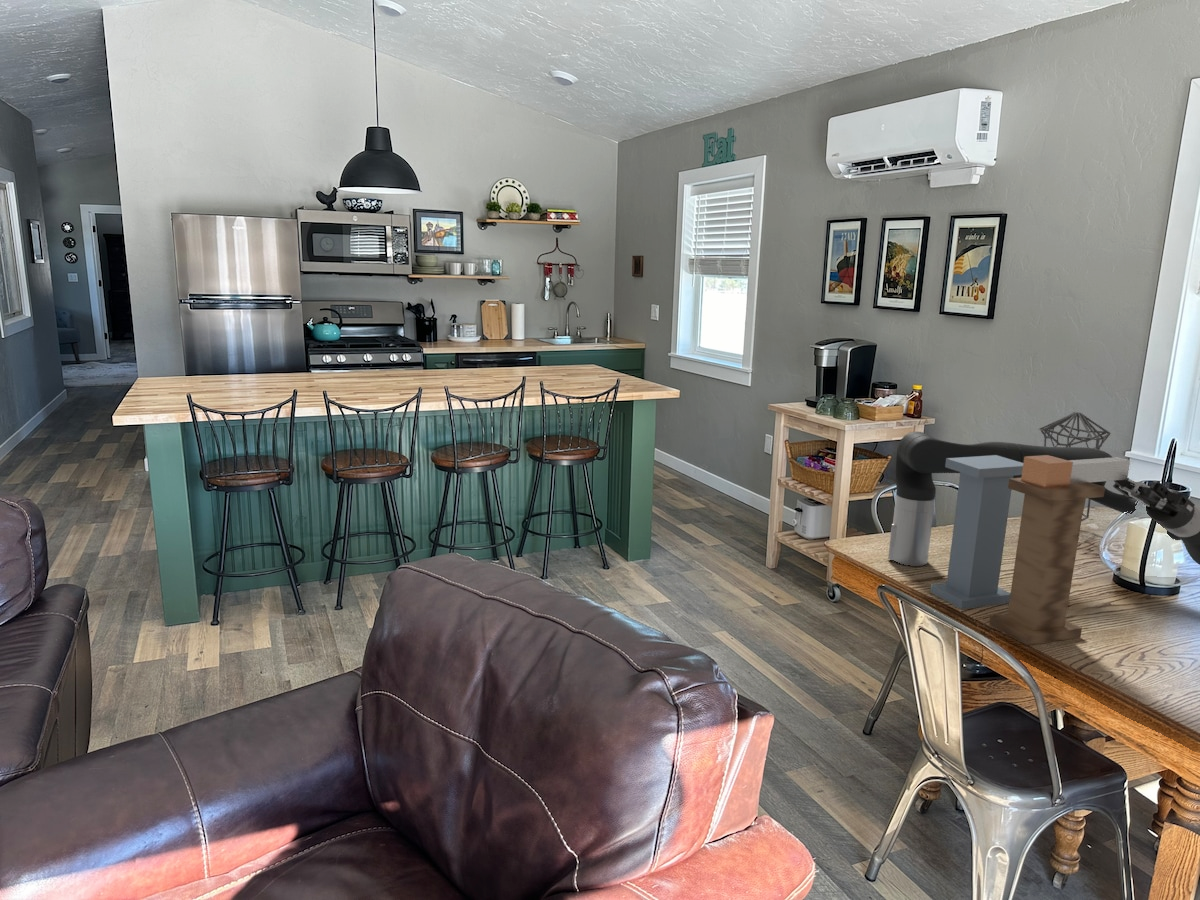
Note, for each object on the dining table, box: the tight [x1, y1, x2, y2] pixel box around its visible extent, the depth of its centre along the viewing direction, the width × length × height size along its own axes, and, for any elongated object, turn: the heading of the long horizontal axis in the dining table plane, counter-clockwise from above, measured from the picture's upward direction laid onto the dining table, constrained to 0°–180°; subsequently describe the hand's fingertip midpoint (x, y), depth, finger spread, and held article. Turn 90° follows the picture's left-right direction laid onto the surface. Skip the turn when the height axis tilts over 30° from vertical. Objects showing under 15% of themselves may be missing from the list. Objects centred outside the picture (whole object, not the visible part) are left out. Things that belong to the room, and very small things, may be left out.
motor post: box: [929, 455, 1023, 610], centre depth 182 cm, size 14×10×32 cm
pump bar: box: [1021, 455, 1131, 489], centre depth 163 cm, size 23×6×5 cm, turn 108°
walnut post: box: [988, 478, 1106, 646], centre depth 165 cm, size 14×10×32 cm
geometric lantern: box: [1037, 411, 1111, 522], centre depth 233 cm, size 16×16×35 cm
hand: (1133, 479), depth 167 cm, fingers open, 8 cm apart
